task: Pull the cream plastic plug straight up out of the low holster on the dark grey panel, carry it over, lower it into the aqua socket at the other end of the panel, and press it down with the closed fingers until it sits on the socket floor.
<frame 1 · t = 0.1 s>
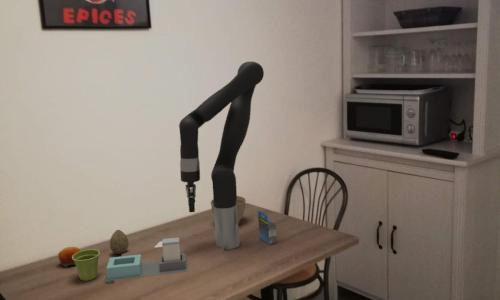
hand: (191, 208, 182), 17 cm above the table, tool pointing down, fingers open, 8 cm apart
plug: (172, 266, 169), point 1 cm above the table, touching panel
fruit: (71, 264, 178), on the table
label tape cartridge: (267, 240, 191), on the table
panel: (148, 271, 167), on the table
decorative egg: (120, 254, 185), on the table
plant pot: (88, 277, 165), on the table
planter bowl: (229, 223, 215), on the table
external hard drive: (163, 251, 187), on the table
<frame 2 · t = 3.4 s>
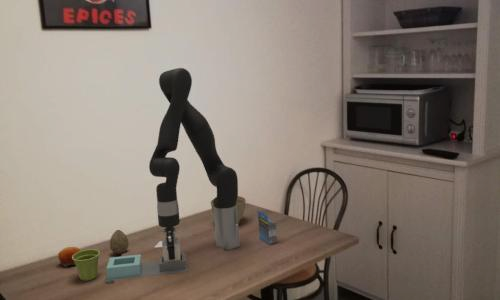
hand: (172, 256, 168), 5 cm above the table, tool pointing down, fingers closed on plug, 4 cm apart
plug: (172, 266, 169), point 1 cm above the table, touching gripper, panel
everything else where it was.
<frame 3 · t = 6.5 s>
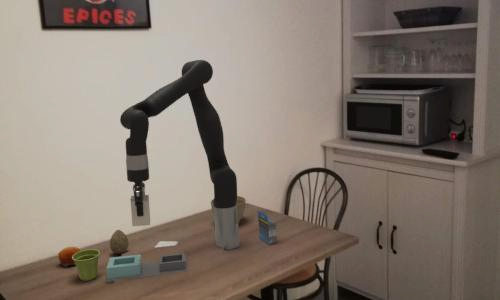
hand: (140, 213, 163), 22 cm above the table, tool pointing down, fingers closed on plug, 4 cm apart
plug: (141, 223, 164), point 18 cm above the table, touching gripper
everything else where it was.
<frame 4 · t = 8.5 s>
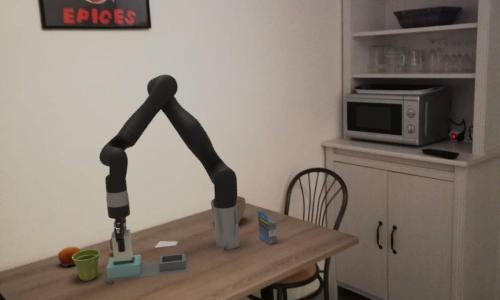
hand: (122, 248, 165), 10 cm above the table, tool pointing down, fingers closed on plug, 4 cm apart
plug: (123, 258, 165), point 6 cm above the table, touching gripper
everything else where it was.
when the fingers open (7 cm above the table, at t = 9.8 s): plug drops 2 cm, resting on panel.
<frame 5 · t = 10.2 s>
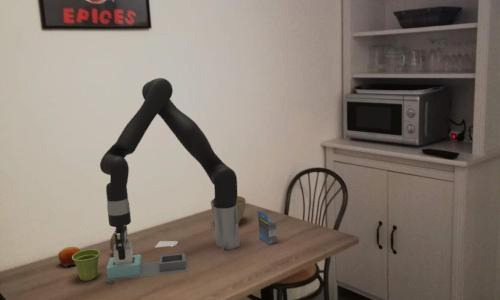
hand: (123, 254, 165), 7 cm above the table, tool pointing down, fingers open, 7 cm apart
plug: (125, 271, 166), point 1 cm above the table, touching panel
everything else where it was.
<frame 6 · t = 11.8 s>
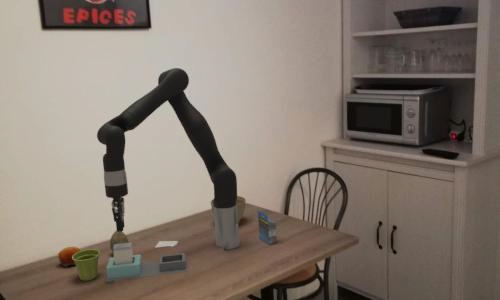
hand: (120, 229, 163), 17 cm above the table, tool pointing down, fingers open, 3 cm apart
nothing on the table moved.
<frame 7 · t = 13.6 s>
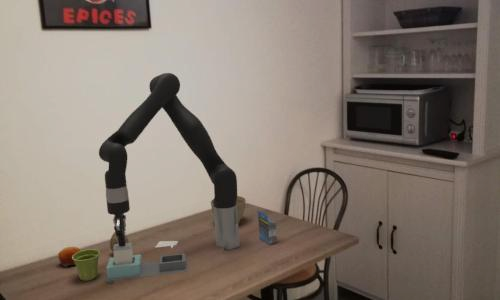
hand: (122, 245, 164), 11 cm above the table, tool pointing down, fingers closed
plug: (125, 271, 166), point 1 cm above the table, touching gripper, panel
everything else where it was.
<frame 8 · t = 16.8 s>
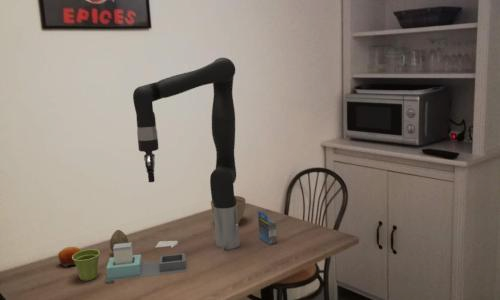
hand: (151, 181, 180), 29 cm above the table, tool pointing down, fingers closed
plug: (125, 271, 166), point 1 cm above the table, touching panel
everything else where it was.
at the end: plug 0.0 cm from the target spot on the panel, point 1.0 cm above the panel's base; plug tilted 0°; the gripper is holding nothing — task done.
